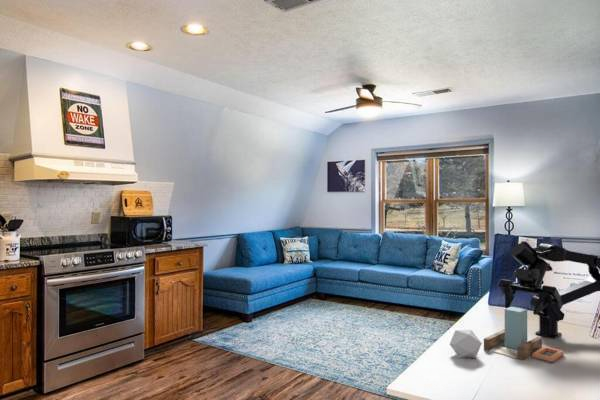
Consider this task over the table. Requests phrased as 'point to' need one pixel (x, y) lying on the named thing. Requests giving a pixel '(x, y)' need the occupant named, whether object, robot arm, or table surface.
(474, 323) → the table surface
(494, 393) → the table surface
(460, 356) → the die
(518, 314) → the block
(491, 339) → the channel
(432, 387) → the table surface
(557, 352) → the frame
